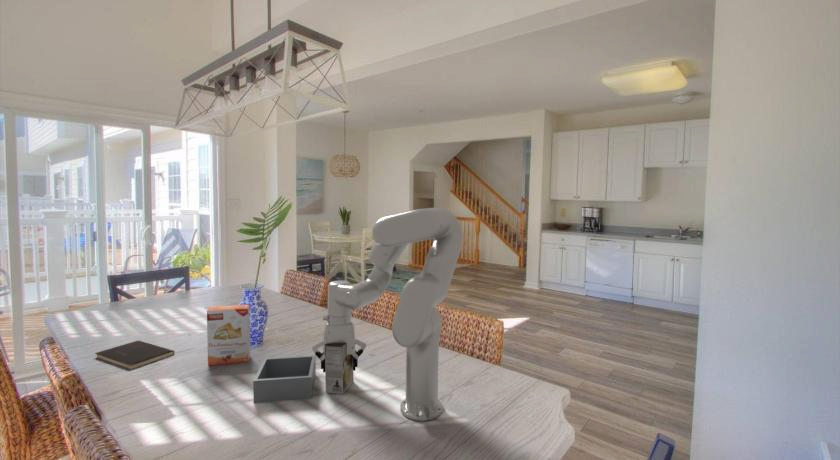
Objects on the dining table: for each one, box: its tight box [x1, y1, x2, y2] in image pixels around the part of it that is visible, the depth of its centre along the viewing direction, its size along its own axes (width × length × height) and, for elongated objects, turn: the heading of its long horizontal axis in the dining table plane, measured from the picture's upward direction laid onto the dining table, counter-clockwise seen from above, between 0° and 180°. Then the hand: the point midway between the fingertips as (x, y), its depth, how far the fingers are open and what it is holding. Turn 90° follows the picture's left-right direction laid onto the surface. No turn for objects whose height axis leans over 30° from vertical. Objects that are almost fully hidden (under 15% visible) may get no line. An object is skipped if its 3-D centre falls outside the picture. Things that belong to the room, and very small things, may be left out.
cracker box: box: [206, 304, 251, 366], centre depth 151 cm, size 14×6×21 cm, turn 106°
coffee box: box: [324, 343, 355, 395], centre depth 132 cm, size 9×6×16 cm
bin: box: [252, 355, 317, 404], centre depth 131 cm, size 17×17×7 cm
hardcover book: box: [95, 339, 175, 370], centre depth 156 cm, size 16×23×2 cm
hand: (339, 369), depth 132 cm, fingers open, 9 cm apart
